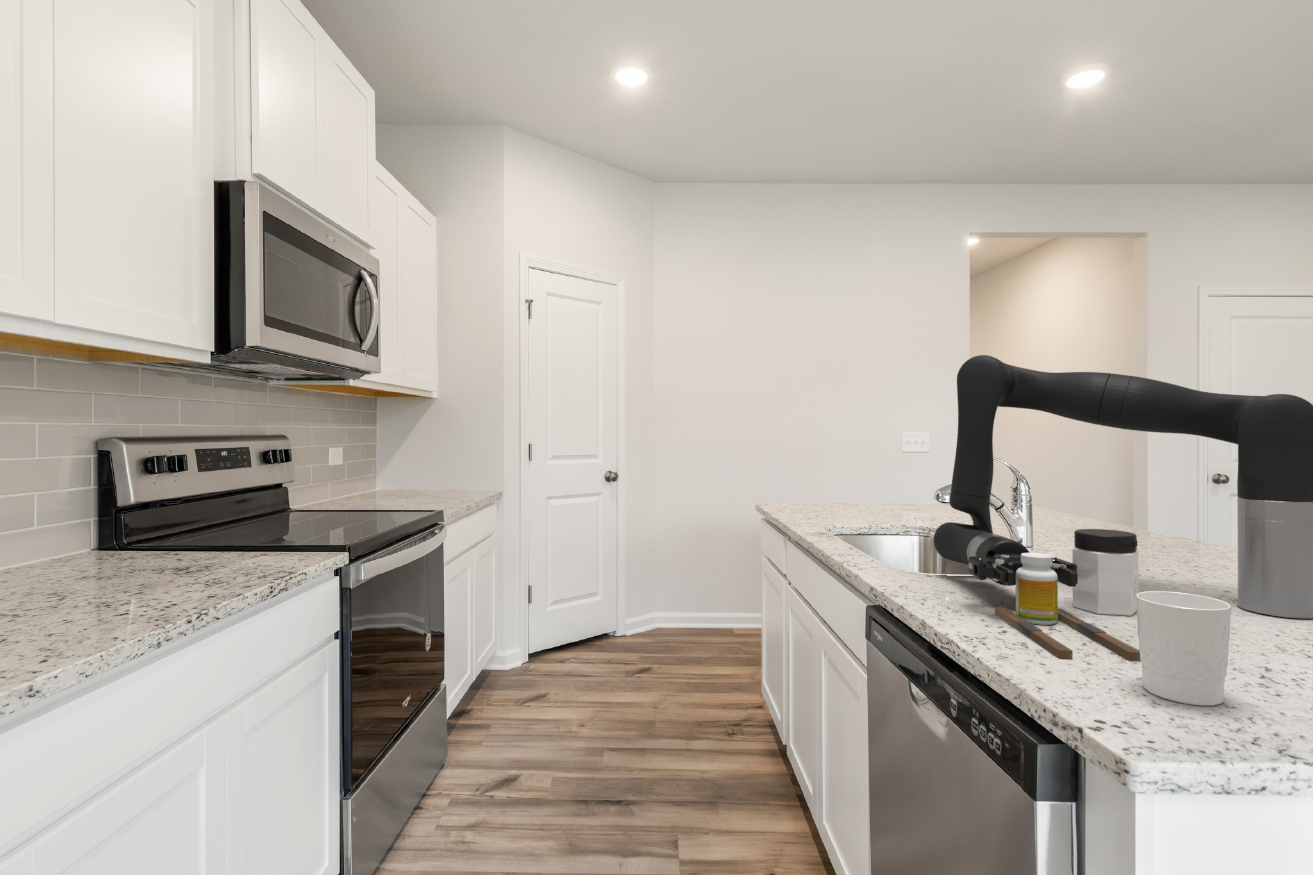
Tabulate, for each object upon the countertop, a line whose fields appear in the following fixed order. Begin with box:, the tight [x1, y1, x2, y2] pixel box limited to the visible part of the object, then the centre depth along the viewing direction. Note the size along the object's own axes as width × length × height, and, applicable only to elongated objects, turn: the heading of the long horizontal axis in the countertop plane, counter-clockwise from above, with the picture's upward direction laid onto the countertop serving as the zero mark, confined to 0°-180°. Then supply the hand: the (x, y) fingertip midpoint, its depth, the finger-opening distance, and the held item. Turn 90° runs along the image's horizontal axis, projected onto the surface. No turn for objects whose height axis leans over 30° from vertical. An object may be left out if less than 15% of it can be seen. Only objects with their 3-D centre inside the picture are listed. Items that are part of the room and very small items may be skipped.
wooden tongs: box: [994, 607, 1141, 662], centre depth 90 cm, size 10×20×1 cm, turn 173°
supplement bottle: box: [1015, 552, 1059, 626], centre depth 97 cm, size 5×5×10 cm
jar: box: [1071, 528, 1139, 617], centre depth 103 cm, size 9×8×12 cm
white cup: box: [1136, 590, 1232, 707], centre depth 70 cm, size 8×8×10 cm
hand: (1042, 579), depth 95 cm, fingers open, 8 cm apart
